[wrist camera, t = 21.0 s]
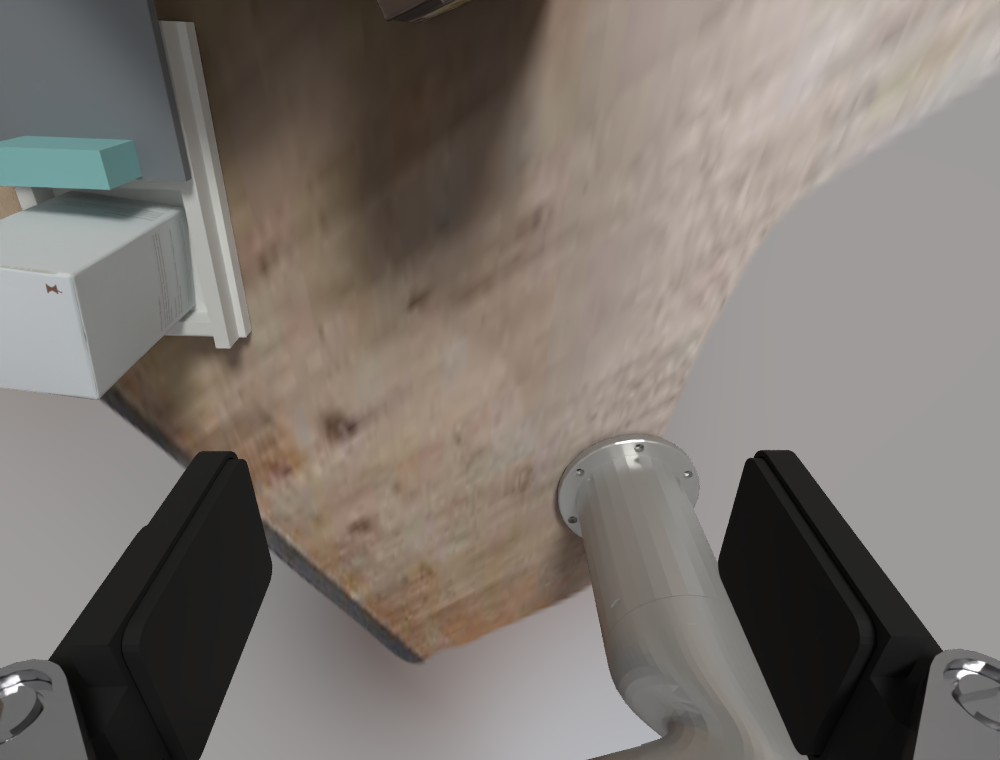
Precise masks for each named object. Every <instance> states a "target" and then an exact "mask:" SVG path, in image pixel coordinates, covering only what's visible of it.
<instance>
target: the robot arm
mask: <svg viewBox="0 0 1000 760" xmlns="http://www.w3.org/2000/svg"><path fill="white" fill-rule="evenodd" d="M699 489H700V485H699V477H698V474H697V472H696V469H695V467H694V465H693V463H692V461H691V459H690V458H689V457H688V456H687V454H686V453H685V452H684V451H683V450H682V449H681V448H679V447H678V446H676V445H675V444H673V443H671V442H669V441H667V440H665V439H662V438H659V437H654V436H650V435H637V434H633V435H623V436H617V437H613V438H610V439H606V440H604V441H601V442H599V443H597V444H594V445H592V446H591V447H589V448H588V449H586V450H584V451H583V452H582V453H580V454H579V455H578V456H577V457H576V458H575V459H574V460H573V461H572V462H571V463H570V464H569V466H568V467H567V468H566V469H565V471H564V473H563V475H562V477H561V479H560V483H559V487H558V504H559V510H560V513H561V515H562V518H563V520H564V522H565V523H566V524H567V526H568V527H569V529H571V530H572V531H573V532H574V533H575V534H576V535H577V536H579V537H581V538H583V542H584V547H585V552H586V557H587V562H588V567H589V572H590V577H591V582H592V587H593V592H594V597H595V602H596V607H597V612H598V617H599V622H600V627H601V632H602V637H603V642H604V647H605V652H606V656H607V662H608V666H609V670H610V674H611V677H612V679H613V682H614V684H615V687H616V689H617V690H618V692H619V694H620V695H621V696H622V698H623V700H624V701H625V703H626V704H627V705H628V706H629V707H630V708H631V710H632V711H633V712H634V713H635V714H636V715H637V716H638V717H639V718H640V719H641V720H643V721H644V722H645V723H646V724H647V725H648V726H649V727H651V728H652V729H653V730H654V731H656V732H657V733H658V734H659V735H660V736H662V738H660V739H658V740H654V741H652V742H648V743H645V744H642V745H641V746H638V747H635V748H631V749H627V750H623V751H619V752H615V753H611V754H608V755H604V756H600V757H596V758H592V759H588V760H1000V661H998V660H996V659H994V658H992V657H989V656H986V655H984V654H981V653H978V652H975V651H969V650H963V649H953V650H945V651H943V650H942V649H941V648H940V646H939V645H938V644H937V642H936V641H935V640H934V638H933V637H932V636H931V634H930V633H929V632H928V630H927V629H926V628H925V626H924V625H923V624H922V622H921V621H920V620H919V618H918V617H917V616H916V614H915V613H914V612H913V610H912V609H911V608H910V606H909V605H908V604H907V602H906V601H905V600H904V598H903V597H902V596H901V594H900V593H899V592H898V590H897V589H896V588H895V586H894V585H893V584H892V582H891V581H890V580H889V578H888V577H887V576H886V574H885V573H884V572H883V570H882V569H881V568H880V566H879V565H878V564H877V562H876V561H875V560H874V558H873V557H872V556H871V555H870V553H869V552H868V550H867V549H866V548H865V546H864V545H863V544H862V542H861V541H860V540H859V538H858V537H857V536H856V534H855V533H854V532H853V530H852V529H851V528H850V526H849V525H848V524H847V522H846V521H845V520H844V518H843V517H842V516H841V514H840V513H839V512H838V510H837V509H836V508H835V506H834V505H833V504H832V502H831V501H830V500H829V498H828V497H827V496H826V494H825V493H824V492H823V490H822V489H821V488H820V486H819V485H818V484H817V482H816V481H815V480H814V478H813V477H812V476H811V474H810V473H809V472H808V470H807V469H806V468H805V466H804V465H803V464H802V462H801V461H800V460H799V458H798V457H797V456H796V455H795V453H793V452H792V451H789V450H760V451H758V452H757V453H756V454H755V456H754V458H749V459H747V461H746V462H745V465H744V469H743V472H742V476H741V480H740V483H739V487H738V490H737V494H736V498H735V501H734V505H733V509H732V512H731V516H730V519H729V524H728V527H727V530H726V534H725V537H724V541H723V544H722V548H721V552H720V555H719V560H718V563H717V561H716V558H715V556H714V554H713V552H712V549H711V547H710V545H709V543H708V540H707V538H706V536H705V534H704V531H703V529H702V527H701V525H700V523H699V520H698V518H697V516H696V513H695V511H694V507H695V504H696V502H697V500H698V496H699ZM271 575H272V561H271V557H270V553H269V549H268V545H267V541H266V537H265V533H264V529H263V525H262V521H261V517H260V513H259V509H258V505H257V501H256V497H255V493H254V489H253V485H252V481H251V477H250V473H249V469H248V465H247V462H246V461H245V460H244V459H238V457H237V455H236V454H235V453H234V452H232V451H202V452H199V453H198V454H197V455H196V456H195V457H194V459H193V460H192V462H191V463H190V465H189V466H188V467H187V469H186V470H185V472H184V473H183V475H182V476H181V477H180V479H179V480H178V482H177V483H176V485H175V486H174V488H173V489H172V491H171V492H170V493H169V495H168V496H167V498H166V499H165V501H164V502H163V503H162V505H161V506H160V508H159V509H158V511H157V512H156V513H155V515H154V516H153V518H152V519H151V521H150V522H149V524H148V525H147V526H145V527H143V528H142V529H141V530H140V531H139V533H137V535H136V536H135V538H134V539H133V540H132V542H131V543H130V545H129V546H128V547H127V549H126V550H125V552H124V553H123V555H122V556H121V558H120V559H119V560H118V562H117V563H116V565H115V566H114V568H113V569H112V570H111V572H110V573H109V575H108V576H107V577H106V579H105V580H104V582H103V583H102V585H101V586H100V587H99V589H98V590H97V592H96V593H95V594H94V596H93V597H92V599H91V600H90V602H89V603H88V604H87V606H86V607H85V609H84V610H83V611H82V613H81V614H80V616H79V617H78V619H77V620H76V622H75V623H74V624H73V626H72V627H71V629H70V630H69V631H68V633H67V634H66V636H65V637H64V639H63V640H62V641H61V643H60V644H59V646H58V647H57V648H56V650H55V651H54V653H53V654H52V656H51V657H50V658H49V660H36V659H32V660H27V661H22V662H16V663H13V664H11V665H8V666H6V667H3V668H0V760H199V759H200V757H201V755H202V752H203V750H204V748H205V745H206V743H207V740H208V737H209V735H210V732H211V730H212V727H213V725H214V722H215V720H216V717H217V715H218V712H219V710H220V707H221V705H222V702H223V700H224V697H225V695H226V692H227V689H228V687H229V684H230V682H231V679H232V677H233V674H234V672H235V669H236V666H237V664H238V662H239V659H240V656H241V654H242V651H243V649H244V646H245V644H246V641H247V639H248V636H249V634H250V631H251V629H252V626H253V624H254V621H255V619H256V616H257V614H258V611H259V609H260V606H261V603H262V601H263V598H264V596H265V593H266V591H267V588H268V586H269V583H270V580H271Z"/></svg>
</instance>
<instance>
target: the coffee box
mask: <svg viewBox="0 0 1000 760" xmlns="http://www.w3.org/2000/svg"><path fill="white" fill-rule="evenodd" d="M376 1H377V3H378V5H379V7H380V9H381V12H382V14H383V16H384V18H385V19H386V21H391V20H397V21H407V22H412V23H423V22H426V21H428V20H430V19H432V18H435V17H437V16H439V15H441V14H443V13H446V12H448V11H450V10H452V9H454V8H457V7H459V6H461V5H463V4H465V3H468V2H470V1H472V0H376Z"/></svg>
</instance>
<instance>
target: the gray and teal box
mask: <svg viewBox="0 0 1000 760" xmlns="http://www.w3.org/2000/svg"><path fill="white" fill-rule="evenodd" d="M134 179H138V180H164V181H188V180H190V179H192V177H191V172H190V168H189V163H188V158H187V154H186V149H185V144H184V139H183V135H182V130H181V125H180V121H179V116H178V111H177V107H176V102H175V97H174V92H173V88H172V83H171V78H170V74H169V69H168V64H167V60H166V55H165V50H164V46H163V41H162V36H161V31H160V27H159V22H158V17H157V13H156V8H155V3H154V0H0V186H22V187H49V188H75V189H102V190H111V189H113V188H116V187H118V186H120V185H123V184H125V183H127V182H130V181H132V180H134Z"/></svg>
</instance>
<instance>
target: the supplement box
mask: <svg viewBox="0 0 1000 760" xmlns="http://www.w3.org/2000/svg"><path fill="white" fill-rule="evenodd" d="M193 306H195V296H194V285H193V276H192V266H191V257H190V248H189V239H188V229H187V220H186V212H185V208H183V207H177V206H170V205H164V204H157V203H150V202H145V201H138V200H131V199H125V198H118V197H111V196H106V195H98V194H92V193H85V192H78V191H69V192H66V193H64V194H62V195H59V196H57V197H55V198H52V199H49V200H47V201H45V202H42V203H40V204H37V205H35V206H32V207H30V208H28V209H25V210H23V211H20V212H18V213H15V214H13V215H10V216H8V217H6V218H3V219H1V220H0V388H5V389H13V390H22V391H31V392H41V393H48V394H56V395H62V396H70V397H77V398H85V399H92V400H99V399H100V398H101V397H102V396H103V395H104V394H105V393H106V392H107V391H108V390H109V389H110V388H111V387H112V386H113V385H114V384H115V383H116V382H117V381H118V380H119V379H120V378H121V377H122V376H123V375H124V374H125V373H126V372H127V371H128V370H129V369H130V368H131V367H132V366H133V365H134V364H135V363H136V362H137V361H138V360H139V359H140V358H141V357H142V356H143V355H144V354H145V353H146V352H147V351H148V350H150V349H151V348H152V347H153V346H154V345H155V344H156V343H157V342H158V341H159V340H160V339H161V338H162V337H163V336H164V335H165V334H166V333H167V332H168V331H169V330H170V329H171V328H172V327H173V326H174V325H175V324H176V323H177V322H178V321H179V320H180V319H181V318H182V317H183V316H184V315H185V314H186V313H187V312H188V311H189V310H190V309H191V308H192V307H193Z"/></svg>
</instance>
